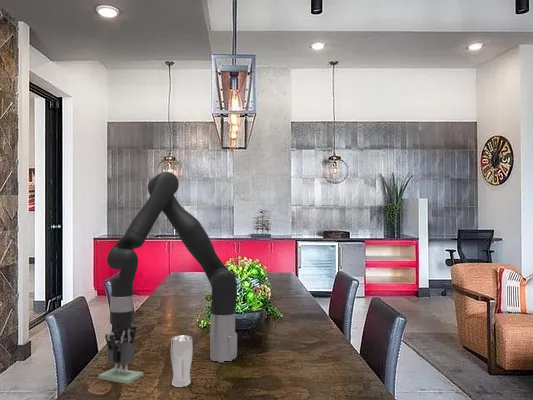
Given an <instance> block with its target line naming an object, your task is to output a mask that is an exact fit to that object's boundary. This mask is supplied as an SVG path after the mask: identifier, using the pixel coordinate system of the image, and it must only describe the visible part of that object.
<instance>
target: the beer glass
mask: <svg viewBox="0 0 533 400" xmlns="http://www.w3.org/2000/svg"><path fill="white" fill-rule="evenodd" d="M170 343H171V344H170V360H171V367H172V381H171V386H172V385H173V386H175V387H183V386H187V385H189V384H190V383H191V384H192V381H191V367H192V363H193V362H192V361H193V354H194V353H193V351H194V348H193V346H194V345H193V344H194V343H193V337H192V336H190V335H184V334H183V335H175V336H172V337H171V341H170ZM173 386H172V387H173Z"/></svg>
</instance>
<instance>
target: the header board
mask: <svg viewBox="0 0 533 400" xmlns="http://www.w3.org/2000/svg"><path fill="white" fill-rule="evenodd" d="M118 365H119V368H118ZM123 365H124V367H123ZM128 366H129V364H127V365H126V364H119V363H114V367H112V368H111V369H108V370H106V371H104V372H102V373H99V374H97V375H98V378H97V379H98V380H103V381H104V380H105V381H108V382H109V381H110V382H115V383H120V384H122V383H123V384H127V385H129V384H131V383H133V382H134V380H135V381H137V380H139V379H140V378H139V377H141V376H142V377H144V372H142V371H137V370H130V369H128V368H129V367H128ZM142 377H141V378H142ZM138 378H139V379H138ZM136 379H137V380H136Z"/></svg>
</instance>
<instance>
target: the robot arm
mask: <svg viewBox="0 0 533 400" xmlns="http://www.w3.org/2000/svg"><path fill="white" fill-rule="evenodd" d="M179 184H180V183H179V179H178V177H177V176H176V175H175V174H174V173H173V172H170V171H163V172H160V173H158V174H157V175H156V176H154V177H152V178H151V179H149V181H148V183H147V192H148V193H149V197H148V199H147V201H146V202H145V204H144V205H143V206H142V208H140V210H139V211H138V212H137V214H136V216H135V217H134V218H133V220H132V221H131V223H130V224H129V226H128V227H127V229H126V232H125V234H124V235H123V236H122V237H121V238H120V239H119V240H118V241H117V242H116V243H115V244H114V245H113V247H111V248H110V250H109V251H108V254H107V257H106V262H107V266H108V267H109V268H110V269H112V270H117V271H119V276H117V277H114V278H112V280H111V284H110V285H111V286H110V295H111V296H110V302H109V323H110V325H111V330H110V331H111V332H110V333H109V334H108V333H107V334H104V335H105V337H104V338H105V340H106V344H107V350H108V349H109V350H110V351H113V361H114V364H115V363H118V364H119V362H120V349H121V345H122V344H123V342H126V343H134V344H135V337H136V332H137V326H135V325H132V324H133V322H134V310H135V309H134V308H135V307H134V306H135V305H134V304H135V303H134V282H135V278H136V274H137V270H138V265H139V257H138V254H137V252H136V251H134V250H135V249H139V248H141V247H142V246H143V245H144V243H145V241H146V240H147V238H148V236H149V234H150V232H151V231H152V229H153V226H154V225H155V223H156V221H157V220H158V217H159V216H160V215H161V213H162V212H163V214H164V215H165V217H166V218H167V219H168V222H169V223H170V224H171V226H172V227H173V229H174V231H175V232H176V233H177V235H178V237H179V239H180V240H181V242H182V243H183V245H184V246H185V248H186V249H187V251H188V252H189V253H190V255H191V256H192V257H193V258H194V259H195V261H196V262H197V263H198V264H199V265H200V266H201V268H202V270H203V272H204V274H205V276H206V277H207V278H206V279H207V280H208V282H209V284H210V287H211V303H210V304H211V305H210V329H209V330H210V333H209V335H210V336H209V337H210V338H209V339H210V341H209V343H210V345H209V349H210V350H209V351H210V352H209V359H211V360H210V361H212V360H213V361H212V362H214V361H218V362H217V363H225V362H224V361H231V362H233V361H234V360H236V359H237V358H238V333H237V332H236V309H237V308H236V307H237V295H238V294H237V293H238V290H237V289H238V283H237V278H236V276H235V274H233V273H232V271H230V270H229V268H227V267H226V265H225V264H224V263H223V261H222V260H221V259H220V257H219V256H218V254H217V252H216V250H215V247H214V245H213V243H212V241H211V239H210V237H209V234H208V233H207V231H206V230H205V228H204V227H203V225H202V223H201V222H200V221H199V220H198V218H196V217H195V216H194V215H193V214H191V212H188V211H187V210H186V209H184V207H183V206H182V205H181V204H180V203H179V200H177V198H176V197H175V194H176V193H177V191H178V189H179V186H180V185H179ZM118 341H119V342H118ZM116 344H118V347H116ZM111 345H112V346H111ZM236 357H237V358H236ZM235 358H236V359H235ZM233 359H234V360H233ZM232 360H233V361H232Z"/></svg>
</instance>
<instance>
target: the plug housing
mask: <svg viewBox="0 0 533 400" xmlns="http://www.w3.org/2000/svg"><path fill="white" fill-rule="evenodd" d="M117 341H118V342H119V340H117ZM111 346H112V345H111ZM116 347H118V344H116ZM134 361H135V342H134V343H126V342H123V344H122V345H121V349H120V362H119V363H118V365H120V364H123V365H125V364H126V365H127V364H128V365H129V364H132V363H133V362H134ZM107 362H108V363H114V361H113V351H110V350H109V349H108V348H107ZM114 364H115V363H114Z"/></svg>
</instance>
